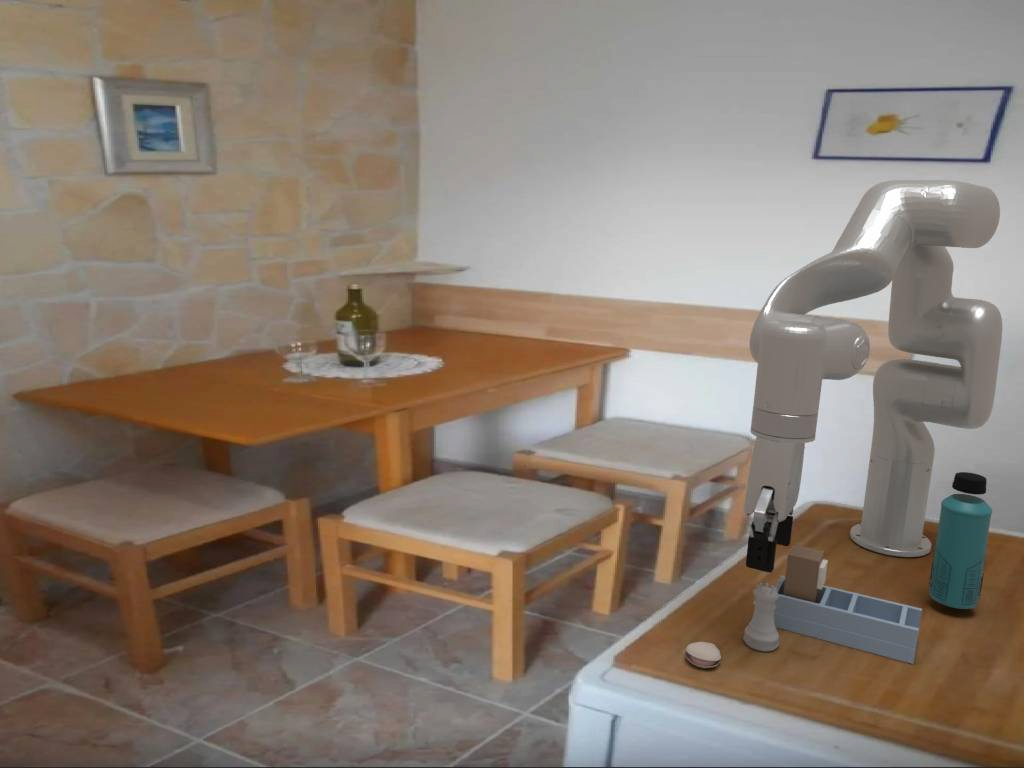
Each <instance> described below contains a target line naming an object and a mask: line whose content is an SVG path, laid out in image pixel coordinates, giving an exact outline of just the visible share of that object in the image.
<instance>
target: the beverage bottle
mask: <svg viewBox="0 0 1024 768" xmlns="http://www.w3.org/2000/svg"><path fill="white" fill-rule="evenodd" d="M951 487H952V489H953V490H954V491H955V490H956V491H957V492H960V493H954V494H950V495H949V496H947V497H945V498H944V499H942V500H941V504H940V505H941V506H940V514H939V520H938V527H937V533H936V538H935V545H934V546H933V547H934V548H933V557H931V559H932V562H931V563H932V564H931V569H930V576H929V581H928V585H929V588H928V592H929V596H930V598H931V599H932V600H934V601H935V602H937V603H939V604H941V605H944V606H946V607H950V608H955V609H961V610H969V609H973V608H975V607H977V605H978V603H979V601H980V600H981V597H980V596H981V593H982V588H983V579H984V571H985V567H986V562H987V560H986V557H987V552H988V539H989V532H990V525H991V520H992V519H991V517H992V514H993V508H992V507H991V506H990V505H989V504H988V502H986V501H985V500H984V499H982V498H981V497H978V496H979V495H980V496H981V495H984V494H986V493H987V478H986V477H985V476H983V475H981V474H977V473H973V472H968V471H967V472H966V471H965V472H964V471H961V472H959V471H958V472H955V474H954V478H953V481H952V484H951ZM975 495H978V496H975Z"/></svg>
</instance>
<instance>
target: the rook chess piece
mask: <svg viewBox="0 0 1024 768" xmlns="http://www.w3.org/2000/svg"><path fill="white" fill-rule="evenodd" d="M769 584H770V583H769V582H764V585H763V583H762V582H759V583H757V584H756V587H755V588H754V589H753V590H752V594H753V595H754V598H755V600H754V601H753V605H754V610H753V614H752V618H751V621H750V622H749V623H748V625H747V626H746V627H745V628H744V635H743V641H744V642H745V644H746V646H747V647H749V648H750V649H752V650H754V651H757V652H762V653H768V652H769V653H770V652H773V651H775V650H777V648H778V647H779V646H780V642H779V639H780V635H779V632H778V630H777V628H776V627H775V624H774V609H775V608H776V605H775V601H776V600H777V599H778V598H779V594H778V592H777V588H775V587H776V584H775V585H774V584H771V585H770V586H769Z"/></svg>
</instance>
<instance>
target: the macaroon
mask: <svg viewBox="0 0 1024 768" xmlns="http://www.w3.org/2000/svg"><path fill="white" fill-rule="evenodd" d="M684 653H685V657H686V659H687V661H689V662H690V663H691V664H692V665H694V666H695V667H698V668H701V669H710V668H715V667H717V666H718V665H719V664H720V662H721V660H722V655H721V651H720V650H719V648H718V647H717V646H716V645H715V644H714V643H712V642H706V641H697V642H691V643H689V644H687V647H685V652H684Z"/></svg>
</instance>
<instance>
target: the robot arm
mask: <svg viewBox="0 0 1024 768" xmlns="http://www.w3.org/2000/svg"><path fill="white" fill-rule="evenodd" d="M1000 206H1001V205H1000V201H999V198H998V197H997V195H996V193H995V192H994V191H993V190H992V189H991V188H988V187H986V186H981V185H977V184H973V183H970V182H964V181H958V180H946V179H945V180H942V179H941V180H940V179H939V180H929V179H928V180H926V179H925V180H923V179H922V180H920V179H919V180H918V179H917V180H914V179H913V180H912V179H911V180H910V179H906V180H905V179H900V180H899V179H898V180H897V179H894V180H886V181H883V182H880V183H877V184H875V185H873V186H872V187H870V188H869V189H868V190H867V191H866V192H865V193H864V194H863V196H862V197H861V199H860V201H859V203H858V205H857V207H856V208H855V209H854V212H853V213H852V215H851V217H850V219H849V221H848V222H847V225H846V226H845V228H844V229H843V231H842V233H841V235H840V237H839V239H838V240H837V242H836V244H835V246H834V248H833V249H832V250H831V252H829V253H826V254H824V255H822V256H821V257H818V258H816V259H815V260H813V261H812V262H809V263H807V264H806V265H804V266H803V267H801V268H799V269H798V270H796V271H794V272H793V273H790V275H788V276H787V277H784V279H782V280H781V282H779V283H778V284H777V285H776V286H775V288H773V290H772V291H771V293H770V294H769V296H768V297H767V299H766V301H765V303H764V304H763V306H762V307H761V309H760V311H759V313H758V316H757V317H756V318H755V321H754V323H753V326H752V328H751V333H750V337H749V351H750V354H751V356H752V358H753V360H754V361H755V362H756V363H757V368H756V375H755V376H756V378H755V386H754V387H755V388H754V397H753V403H752V404H753V407H752V414H751V424H750V431H749V432H750V433H751V435H753V436H754V437H755V439H754V440H755V441H754V444H753V448H752V454H751V459H750V465H749V470H748V471H749V472H748V476H747V483H746V490H745V496H744V503H743V513H744V515H745V516H748V517H749V516H750V515H753V517H752V521H751V525H750V530H749V534H748V539H747V540H748V541H747V549H746V558H745V566H746V567H747V568H749V569H752V570H757V571H760V572H763V573H764V572H765V573H770V574H771V573H772V572H773V571H774V570H775V569H774V568H775V561H776V550H777V545H779V546H783V547H788V546H790V545H791V539H792V538H791V537H792V531H793V523H794V515H793V513H794V509H795V506H796V505H797V502H798V499H799V493H800V488H801V482H802V474H803V467H804V465H803V464H804V458H805V449H806V446H805V445H806V444H807V443H812V442H814V441H815V440H816V433H817V424H818V417H819V409H820V400H821V392H822V385H823V380H833V381H843V380H847V379H850V378H853V376H855V375H857V374H858V373H860V372H861V370H862V369H864V367H865V365H866V363H867V362H868V359H869V357H870V351H871V347H870V346H871V345H870V344H871V343H870V338H869V336H868V333H867V331H866V330H865V329H864V328H863V327H862V326H861V325H859V324H858V323H857V322H854V321H850V320H847V319H841V318H833V317H823V316H820V315H813V314H812V315H811V314H808V313H810V312H812V311H814V310H817V309H819V308H822V307H824V306H828V305H832V304H837V303H843V302H846V301H851V300H856V299H859V298H862V297H867V296H870V295H874V294H876V293H878V292H881V291H883V289H886V288H887V287H888V286H889V285H890V284H891V289H890V303H889V315H888V325H887V326H888V328H887V329H888V332H887V333H888V340H889V342H890V343H889V344H890V345H891V346H892V347H893V348H894V349H896V350H898V351H900V352H905V353H909V354H915V355H921V356H928V357H936V358H941V359H949V360H956V361H957V362H958V363H959V365H960V366H959V365H951V364H945V363H944V364H943V363H939V362H932V361H924V360H918V359H910V358H909V359H908V358H899V359H898V358H897V359H891V360H888V361H886V362H884V363H882V364H881V365H880V366H879V367H878V368H877V370H876V371H875V374H874V377H873V382H872V396H873V397H872V398H873V427H872V428H873V430H872V439H871V444H870V445H871V447H870V455H869V463H868V469H867V470H868V471H867V479H866V483H865V484H866V485H865V493H864V500H863V508H862V516H861V522H860V523H858V524H857V523H856V524H855V525H853V526H852V527H851V528H850V531H849V536H850V539H851V540H852V541H853V542H854V543H855V544H857V545H858V546H860V547H861V548H862V547H863V548H864V549H866V550H869V551H871V552H874V553H875V552H876V553H878V554H881V555H887V556H892V557H901V558H915V557H922V556H925V555H927V554H929V553H930V552H931V550H932V542H931V540H930V539H929V538H928V537H927V536H925V535H924V525H925V520H926V513H927V507H928V499H929V493H930V486H931V479H932V473H933V472H932V471H933V466H934V459H935V450H936V448H935V444H934V440H933V437H932V435H931V433H930V431H929V430H928V428H927V425H926V424H925V423H932V424H937V425H943V426H946V427H947V426H949V427H954V428H960V429H967V430H973V429H978V428H981V427H983V426H984V425H985V424H986V423H987V422H988V421H989V419H990V417H991V415H992V414H991V413H992V410H993V407H994V403H995V396H996V395H995V394H996V388H997V379H998V372H999V364H1000V358H1001V347H1002V340H1003V339H1002V338H1003V318H1002V315H1001V312H1000V310H999V308H998V307H997V306H996V305H995V304H993V303H992V302H989V301H987V300H982V299H974V298H964V297H956V296H954V295H953V293H952V286H953V275H954V262H953V259H952V257H951V255H950V252H949V251H948V249H947V247H949V248H961V249H962V248H963V249H978V248H982V247H983V246H985V245H987V244H988V243H989V242H990V241H991V239H992V238H993V236H994V235H995V234H996V232H997V229H998V226H999V223H1000V219H1001V207H1000Z"/></svg>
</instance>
